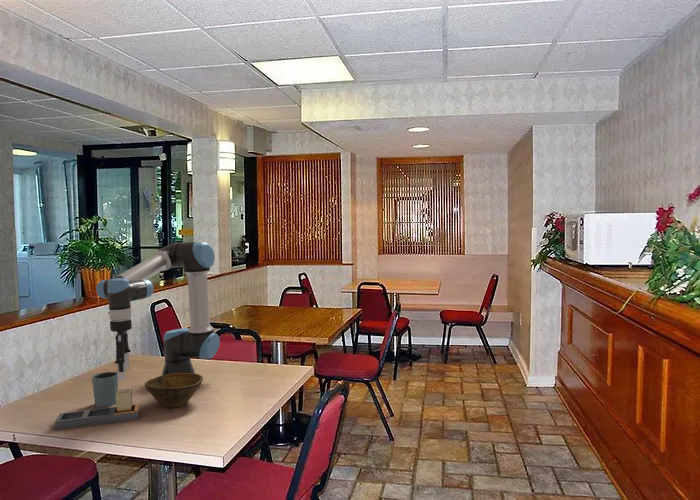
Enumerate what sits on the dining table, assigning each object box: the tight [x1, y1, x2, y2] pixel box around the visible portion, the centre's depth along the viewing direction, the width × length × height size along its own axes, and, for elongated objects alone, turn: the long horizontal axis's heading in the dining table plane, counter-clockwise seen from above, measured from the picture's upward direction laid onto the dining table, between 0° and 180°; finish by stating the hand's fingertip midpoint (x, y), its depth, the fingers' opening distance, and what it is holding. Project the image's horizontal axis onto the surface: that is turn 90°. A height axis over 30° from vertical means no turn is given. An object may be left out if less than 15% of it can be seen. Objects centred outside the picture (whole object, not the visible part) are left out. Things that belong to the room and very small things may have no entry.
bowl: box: [144, 372, 204, 409], centre depth 216 cm, size 22×23×10 cm
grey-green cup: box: [91, 371, 119, 408], centre depth 218 cm, size 10×10×12 cm
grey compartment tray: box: [54, 403, 141, 431], centre depth 199 cm, size 28×9×3 cm, turn 108°
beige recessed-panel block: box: [116, 388, 133, 413], centre depth 202 cm, size 5×5×10 cm
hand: (124, 374), depth 202 cm, fingers open, 13 cm apart
